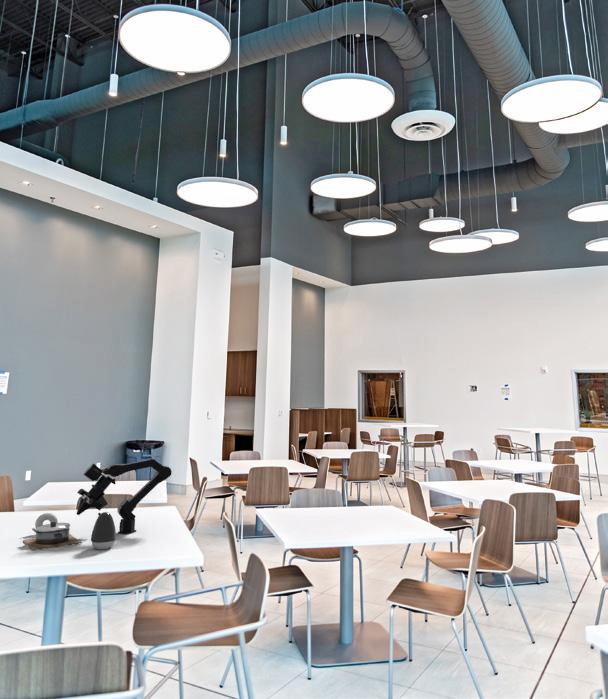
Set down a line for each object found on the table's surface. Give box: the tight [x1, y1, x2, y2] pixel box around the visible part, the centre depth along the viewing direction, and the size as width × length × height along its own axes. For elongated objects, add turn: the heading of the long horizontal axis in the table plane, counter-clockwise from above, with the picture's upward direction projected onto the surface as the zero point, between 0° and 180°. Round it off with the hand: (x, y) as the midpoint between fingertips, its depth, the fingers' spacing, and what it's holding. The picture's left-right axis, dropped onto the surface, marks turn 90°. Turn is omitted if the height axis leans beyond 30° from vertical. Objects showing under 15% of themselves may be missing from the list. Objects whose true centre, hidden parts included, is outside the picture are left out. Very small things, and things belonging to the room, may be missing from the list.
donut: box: [34, 512, 59, 529], centre depth 246 cm, size 10×4×10 cm, turn 110°
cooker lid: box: [31, 521, 71, 534], centre depth 229 cm, size 15×14×3 cm
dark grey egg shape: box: [90, 511, 117, 551], centre depth 221 cm, size 10×10×15 cm
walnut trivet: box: [22, 533, 83, 551], centre depth 229 cm, size 20×20×1 cm
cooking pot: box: [35, 527, 71, 545], centre depth 229 cm, size 14×22×5 cm, turn 40°
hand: (77, 514), depth 241 cm, fingers closed
